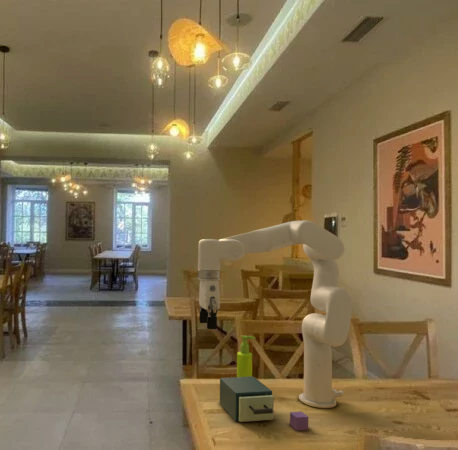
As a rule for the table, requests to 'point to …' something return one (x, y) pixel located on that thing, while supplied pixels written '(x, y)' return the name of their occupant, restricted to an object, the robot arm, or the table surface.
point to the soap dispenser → (244, 359)
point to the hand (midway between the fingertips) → (207, 325)
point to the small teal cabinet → (239, 392)
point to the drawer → (255, 407)
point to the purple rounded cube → (299, 421)
